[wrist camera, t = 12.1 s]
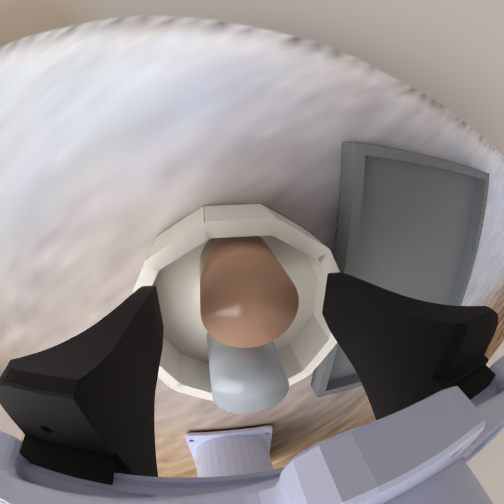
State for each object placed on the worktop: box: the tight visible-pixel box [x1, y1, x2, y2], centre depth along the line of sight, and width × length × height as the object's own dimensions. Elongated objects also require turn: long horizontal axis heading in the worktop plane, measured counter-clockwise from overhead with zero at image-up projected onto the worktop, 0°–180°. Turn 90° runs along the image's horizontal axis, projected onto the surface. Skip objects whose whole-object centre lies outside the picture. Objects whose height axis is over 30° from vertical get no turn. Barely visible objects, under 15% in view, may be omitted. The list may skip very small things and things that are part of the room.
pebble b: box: [200, 236, 299, 348], centre depth 12 cm, size 4×4×4 cm
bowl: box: [132, 204, 340, 401], centre depth 14 cm, size 11×11×3 cm
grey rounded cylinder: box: [207, 332, 289, 414], centre depth 14 cm, size 4×4×4 cm
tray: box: [311, 142, 489, 397], centre depth 17 cm, size 18×14×2 cm
